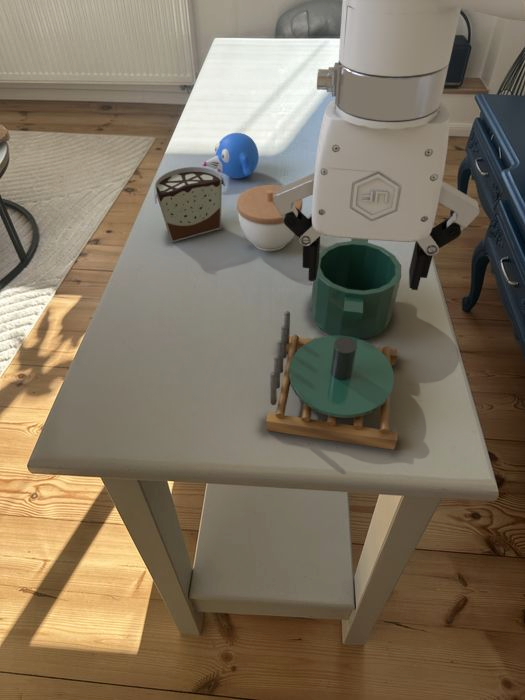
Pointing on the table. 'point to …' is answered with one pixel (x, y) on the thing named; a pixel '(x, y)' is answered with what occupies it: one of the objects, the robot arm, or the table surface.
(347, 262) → the pot
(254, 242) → the trinket box
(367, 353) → the lid
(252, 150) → the blue mole toy
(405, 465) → the table surface
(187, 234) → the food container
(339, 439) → the dish rack
